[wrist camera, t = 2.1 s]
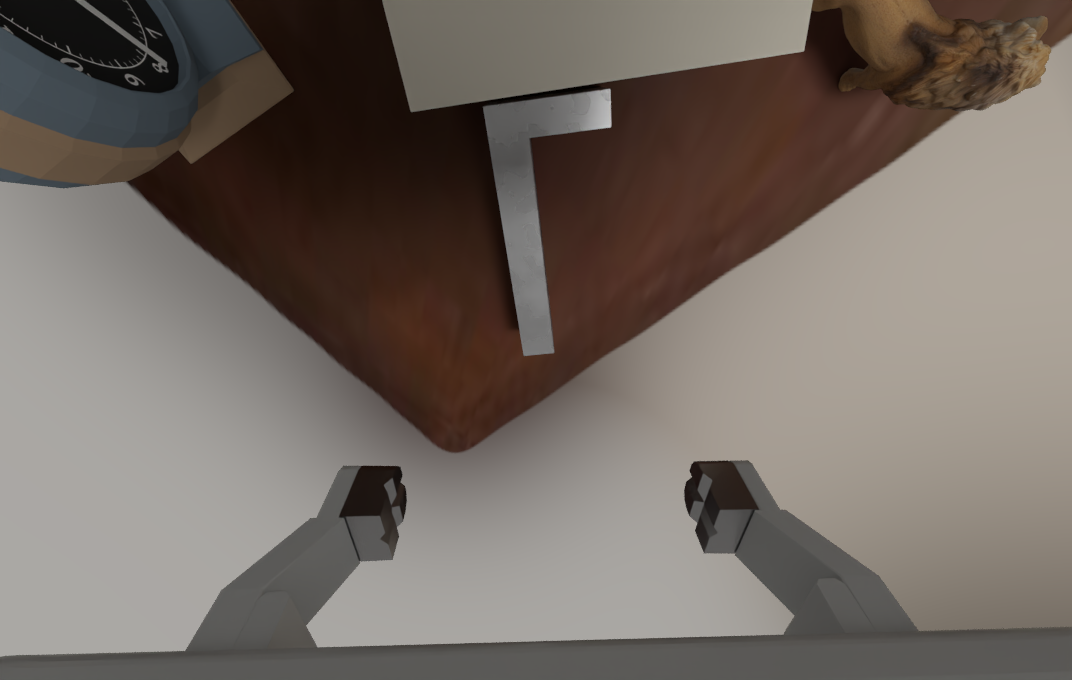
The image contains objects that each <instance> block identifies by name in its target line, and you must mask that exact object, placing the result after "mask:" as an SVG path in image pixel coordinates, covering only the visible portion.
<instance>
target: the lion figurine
mask: <svg viewBox="0 0 1072 680" xmlns="http://www.w3.org/2000/svg"><path fill="white" fill-rule="evenodd" d="M835 8H840V9H841V11H842V18H843V25H844V31H845V35H846V37H847V39H848V41H849V43H850V44H851V46H852V47H853V49H854V50H855V51H856V52H857V53H858V54H859V55H860V56H861V57H862V58H863V59H864V60H865V61H866V62H867V63H868V64H869V65H868V66H867V67H866V68H865V69H859V68H850V69H848V71H847V72H845V73H844V74H843V75H842V76H841V78H840V81H839V89H840V91H842V92H844V91H850V90H852V89H854V88H855V87H861V88H863V89H866V90H876V89H882V90H883V93H884V94H885V95H886V96H888V97H889V98H890V100H891V101H892V102H893V103H894V104H896V105H898V104H905V105H906V106H908V107H911V108H918V109H930V110H942V109H952V110H955V111H965V110H970V109H974V110H984V109H987V108H989V107H990V106H991V105H993V104H997V103H1001V102H1003V101H1006V100H1008V99H1009V98H1010V97H1012V96H1014V95H1016V94H1018V93H1020V92H1021V91H1023V90H1024V89H1027V88H1032V87H1035V86H1037V85H1039V84H1040V83H1041V78H1040V77H1041V76H1042V75H1043V74H1044V72H1045V71H1046V68H1045V64H1046V63H1047V61H1048V59H1049V54H1050V53H1051V48H1050V47H1049V46H1048V45H1046V44H1043V43H1042V41H1040V40H1039V39H1040V38H1041V36H1042V35H1043V33H1044V32H1045V31H1046V29H1047V25H1048V20H1047V18H1046V17H1044V16H1039V17H1035V18H1031V17H1028V18H1023V19H1020V20H1018V21H1016V22H1014V23H1013V24H1012V23H1004V22H1002V21H1000V20H995V19H993V20H988V21H985V22H981V23H977V22H975V21H974V20H970V19H956V20H951V19H948V18H946V17H943V16H941V15H938V14H936V13H935V11H934V10H933V8H932V6H931V5H930V3H929V1H928V0H813V3H812V9H811V10H812V11H817V12H819V11H823V10H827V9H835Z"/></svg>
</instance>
